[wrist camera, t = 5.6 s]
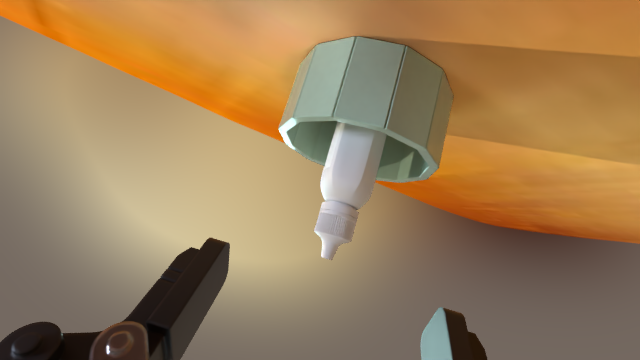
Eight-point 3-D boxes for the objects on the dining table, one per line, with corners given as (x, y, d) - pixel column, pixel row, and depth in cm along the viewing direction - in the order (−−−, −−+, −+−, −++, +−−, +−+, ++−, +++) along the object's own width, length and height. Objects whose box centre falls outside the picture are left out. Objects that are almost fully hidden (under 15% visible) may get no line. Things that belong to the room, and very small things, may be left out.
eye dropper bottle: (328, 90, 24) (281, 245, 21) (368, 57, 19) (312, 254, 16) (375, 114, 26) (336, 261, 23) (424, 89, 20) (381, 274, 18)
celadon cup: (309, 108, 28) (293, 160, 27) (291, 22, 18) (263, 100, 17) (427, 135, 26) (415, 191, 25) (478, 58, 16) (462, 145, 15)
